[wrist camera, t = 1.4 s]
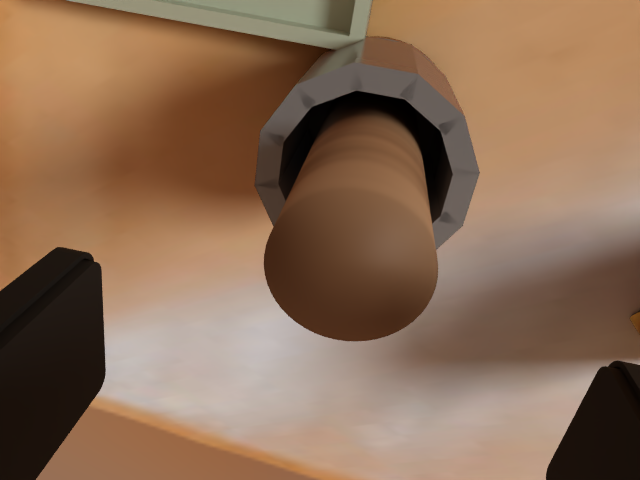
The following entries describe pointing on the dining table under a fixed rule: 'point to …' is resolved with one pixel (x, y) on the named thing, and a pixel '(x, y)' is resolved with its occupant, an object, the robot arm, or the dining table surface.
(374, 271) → the dowel
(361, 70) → the cup
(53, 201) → the dining table surface
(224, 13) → the rectangular frame
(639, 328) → the candy box
